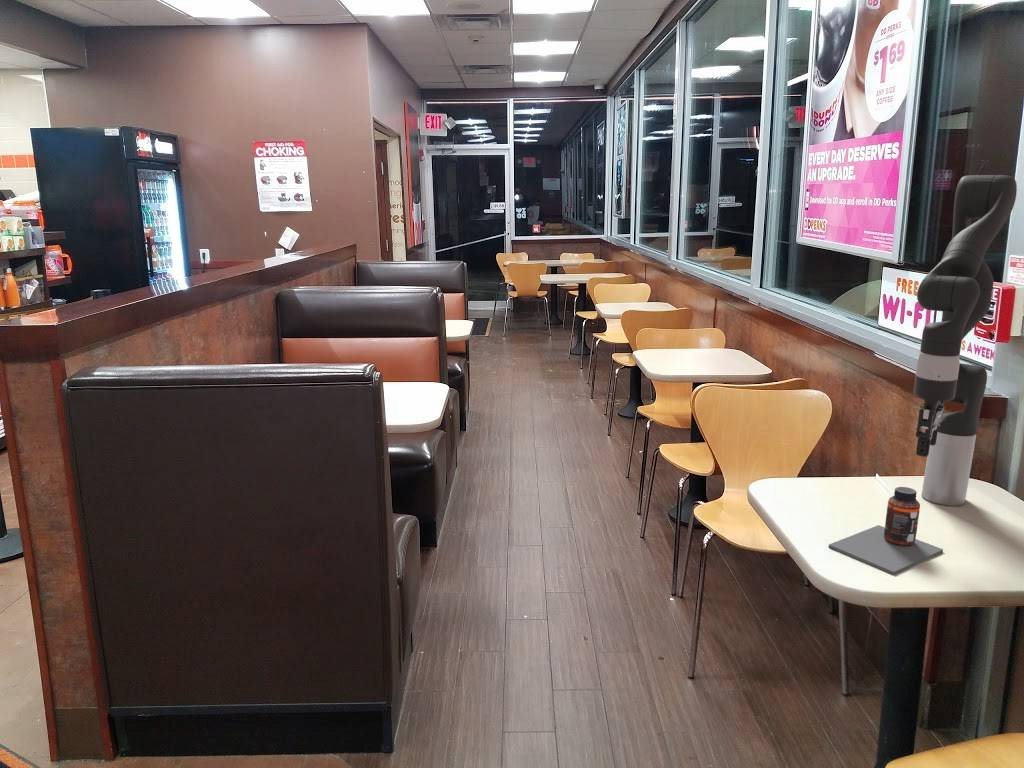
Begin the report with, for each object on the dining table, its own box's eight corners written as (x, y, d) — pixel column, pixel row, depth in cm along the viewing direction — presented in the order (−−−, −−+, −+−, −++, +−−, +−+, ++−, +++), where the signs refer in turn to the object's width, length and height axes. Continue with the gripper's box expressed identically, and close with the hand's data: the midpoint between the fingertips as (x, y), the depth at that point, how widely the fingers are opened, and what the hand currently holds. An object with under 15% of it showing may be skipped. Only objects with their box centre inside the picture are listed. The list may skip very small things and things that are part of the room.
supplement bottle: (919, 548, 156) (926, 496, 153) (888, 545, 157) (895, 494, 154) (909, 535, 162) (916, 485, 159) (879, 533, 163) (886, 483, 160)
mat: (878, 527, 167) (878, 525, 167) (942, 552, 156) (943, 549, 156) (828, 547, 157) (828, 544, 157) (893, 574, 146) (893, 571, 146)
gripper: (952, 384, 147) (940, 463, 151) (962, 370, 158) (951, 444, 162) (909, 379, 151) (899, 456, 156) (922, 365, 162) (912, 437, 167)
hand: (925, 449), depth 159 cm, fingers open, 8 cm apart
